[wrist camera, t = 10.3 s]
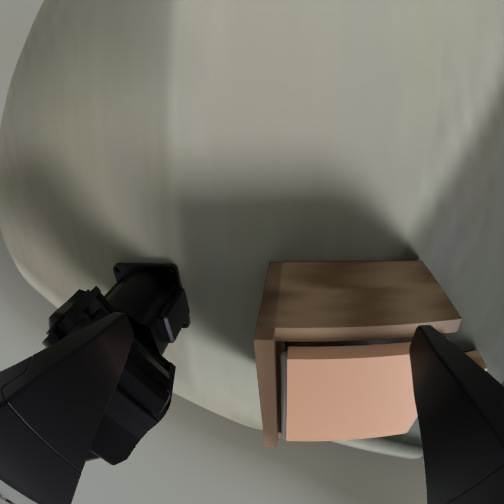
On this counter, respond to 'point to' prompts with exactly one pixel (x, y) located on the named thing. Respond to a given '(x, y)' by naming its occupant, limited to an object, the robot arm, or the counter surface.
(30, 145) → the counter surface
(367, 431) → the terracotta flap
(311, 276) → the walnut frame
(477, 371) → the robot arm
